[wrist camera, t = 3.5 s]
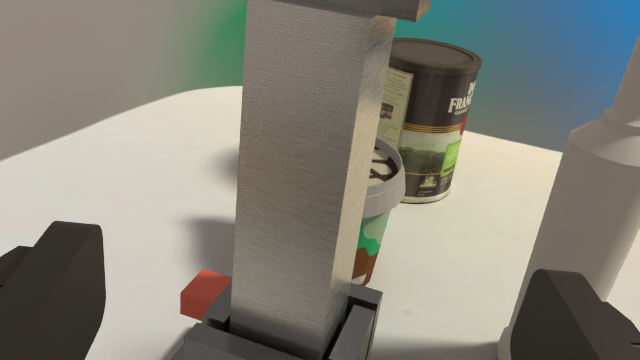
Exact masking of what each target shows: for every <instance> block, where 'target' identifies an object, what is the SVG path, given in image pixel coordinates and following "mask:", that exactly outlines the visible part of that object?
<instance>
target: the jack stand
mask: <svg viewBox="0 0 640 360" xmlns="http://www.w3.org/2000/svg"><path fill="white" fill-rule="evenodd" d="M231 294H232V278H230V277H227V276H224V275H221V274H218V273H214V272H211V271H208V270H205V269H202V270H201V272H200V273H199V274H198V275H197V276H196V277H195V278H194V279H193V280H192V281H191V282H190V283H189V284H188V285H187V286H186V287H185V289H184V290H183V291H182V292H181V308H180V314H183V315H186V316H189V317H192V318H195V319H197V320H200V321H202V323H201V324H200V323H196V324H195V325H194V326H193V328H192V329H191V330H190V331H189V332H188V334H187V335H186V336H185V337H184V345H183V346H182V347H181V348H180V349H179V351H178V352H177V353H176V354H175V355H174V357H173V358H172V359H171V360H304V359H301V358H298V357H295V356H292V355H289V354H286V353H284V352H281V351H278V350H275V349H272V348H269V347H266V346H263V345H261V344H258V343H255V342H252V341H249V340H246V339H243V338H240V337H238V336H235V335H232V334H229V331H230V312H231ZM382 295H383V292H380V291H377V290H374V289H371V288H367V287H364V286H361V285H358V284H354V283H351V285H350V291H349V297H348V302H347V308H346V314H345V320H344V326H343V329H342V331H341V333H340V335H339V337H338V340H337V342H336V344H335V346H334V348H333V350H332V352H331V354H330V356H329V359H328V360H369V358H370V353H371V348H372V343H373V339H374V334H375V329H376V324H377V319H378V314H379V309H380V305H381V300H382Z"/></svg>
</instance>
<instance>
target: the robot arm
mask: <svg viewBox="0 0 640 360" xmlns="http://www.w3.org/2000/svg"><path fill="white" fill-rule="evenodd" d="M105 301H106V289H105V270H104V251H103V235H102V230H101V227H100V226H99V225H94V224H84V223H73V222H63V221H54V222H53V223H52V224H51V225H50V226H49V227H48V228H47V230H46V231H45V232H44V234H43V235H42V236H41V238H40V239H39V240H38V241H37V243H36V244H35V245H34V247H26V246H18V247H16V248H14V249H13V250H11V251H9V252H8V253H6V254H4V255H3V256H1V257H0V360H85V357H86V355H87V353H88V351H89V349H90V347H91V345H92V343H93V341H94V339H95V337H96V334H97V332H98V330H99V328H100V325H101V322H102V319H103V314H104V309H105ZM510 354H511V360H640V332H639V331H638V329H637V328H636V327H635V325H634V324H633V323H632V321H630V320H629V319H628V318H627V317H625V316H624V315H623V314H622V313H620V312H619V311H618V310H617V309H615V308H614V307H613V306H612V305H611V304H609V303H608V302H603V301H601V300H600V298H599V297H598V295H597V294H596V292H595V291H594V289H593V288H592V287H591V285H590V284H589V282H588V281H587V279H586V278H585V277H584V276H583V275H582V274H581V273H579V272H569V271H559V270H549V269H537V270H536V271H535V272H534V273H533V275H532V277H531V279H530V282H529V285H528V287H527V290H526V293H525V296H524V299H523V302H522V304H521V307H520V310H519V313H518V316H517V319H516V321H515V324H514V327H513V330H512V334H511V340H510Z"/></svg>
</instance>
